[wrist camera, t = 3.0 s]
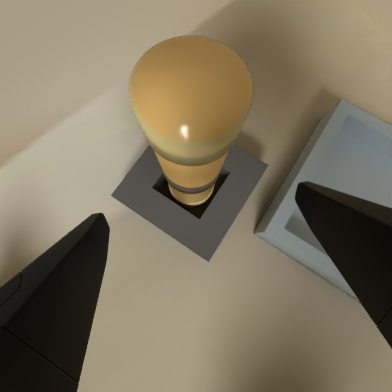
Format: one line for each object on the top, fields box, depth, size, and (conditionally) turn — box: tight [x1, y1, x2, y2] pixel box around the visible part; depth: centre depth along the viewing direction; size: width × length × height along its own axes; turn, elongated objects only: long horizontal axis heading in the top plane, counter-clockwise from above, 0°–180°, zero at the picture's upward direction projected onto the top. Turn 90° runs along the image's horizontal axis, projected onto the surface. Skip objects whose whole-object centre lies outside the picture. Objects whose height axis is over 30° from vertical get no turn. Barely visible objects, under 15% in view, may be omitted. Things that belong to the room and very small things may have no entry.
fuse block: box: [111, 144, 268, 262], centre depth 19 cm, size 10×10×2 cm
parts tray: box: [254, 99, 392, 302], centre depth 19 cm, size 15×15×3 cm
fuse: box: [129, 36, 254, 208], centre depth 14 cm, size 4×4×14 cm
